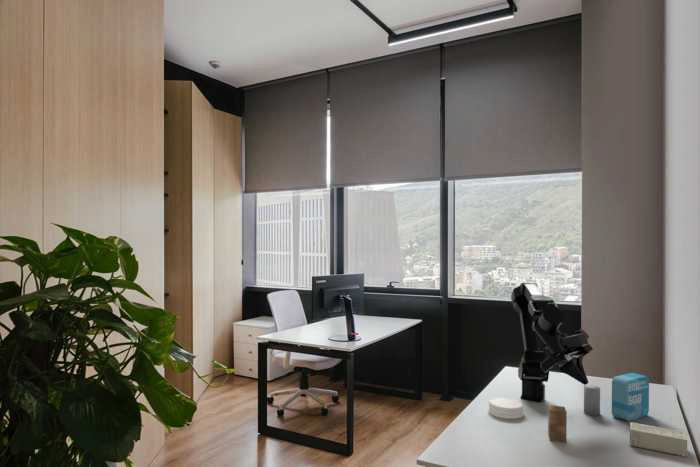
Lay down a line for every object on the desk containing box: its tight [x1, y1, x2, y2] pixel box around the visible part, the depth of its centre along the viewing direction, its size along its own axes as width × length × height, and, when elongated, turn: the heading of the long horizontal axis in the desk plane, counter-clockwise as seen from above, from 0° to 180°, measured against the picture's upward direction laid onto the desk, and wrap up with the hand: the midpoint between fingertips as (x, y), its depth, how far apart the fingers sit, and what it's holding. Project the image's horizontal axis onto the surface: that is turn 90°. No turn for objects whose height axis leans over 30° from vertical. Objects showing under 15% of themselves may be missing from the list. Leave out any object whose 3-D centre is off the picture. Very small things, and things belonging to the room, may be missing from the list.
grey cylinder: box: [583, 384, 601, 417], centre depth 143 cm, size 4×4×8 cm
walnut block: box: [547, 404, 568, 444], centre depth 124 cm, size 4×4×8 cm
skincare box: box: [629, 421, 688, 457], centre depth 119 cm, size 6×4×12 cm
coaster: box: [488, 396, 524, 420], centre depth 142 cm, size 10×10×4 cm
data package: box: [611, 372, 650, 422], centre depth 141 cm, size 12×4×12 cm, turn 120°
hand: (586, 383), depth 131 cm, fingers closed
